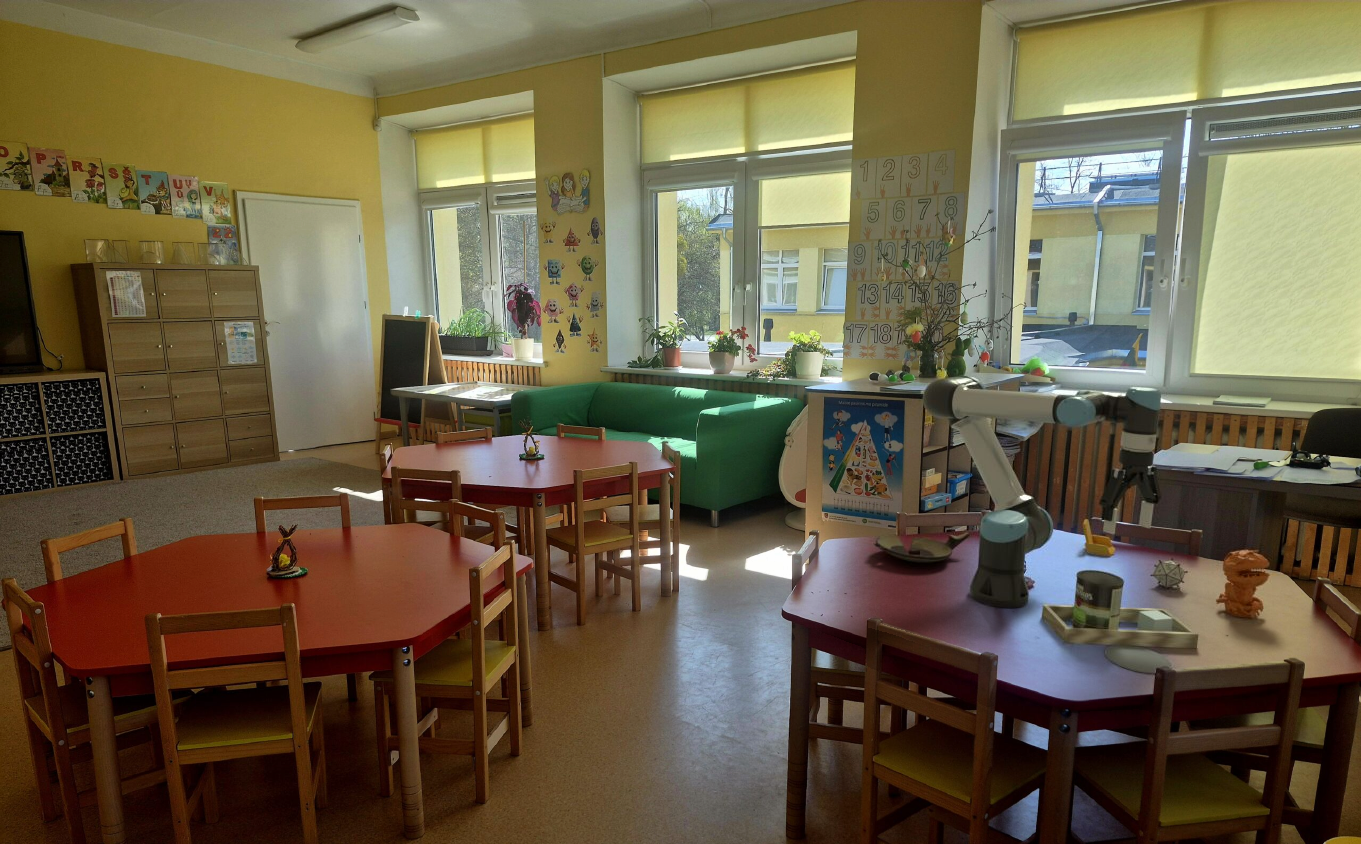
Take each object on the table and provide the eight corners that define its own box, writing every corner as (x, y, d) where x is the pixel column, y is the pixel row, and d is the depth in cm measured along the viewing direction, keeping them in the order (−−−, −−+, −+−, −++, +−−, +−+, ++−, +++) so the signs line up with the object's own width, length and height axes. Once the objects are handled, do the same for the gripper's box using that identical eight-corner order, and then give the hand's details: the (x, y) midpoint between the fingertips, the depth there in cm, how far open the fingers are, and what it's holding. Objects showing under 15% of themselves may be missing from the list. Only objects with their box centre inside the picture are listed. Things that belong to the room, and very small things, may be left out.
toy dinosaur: (1251, 625, 196) (1260, 557, 193) (1205, 609, 206) (1213, 544, 203) (1274, 617, 201) (1284, 550, 198) (1229, 602, 211) (1237, 538, 208)
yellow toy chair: (1112, 557, 247) (1115, 529, 245) (1079, 552, 252) (1082, 524, 250) (1115, 548, 255) (1118, 521, 254) (1083, 543, 261) (1085, 517, 259)
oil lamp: (870, 545, 257) (871, 523, 256) (965, 551, 252) (966, 528, 251) (875, 568, 236) (876, 544, 234) (979, 575, 231) (981, 550, 229)
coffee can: (1087, 641, 187) (1092, 585, 184) (1063, 623, 197) (1067, 570, 194) (1127, 639, 188) (1133, 584, 185) (1101, 622, 198) (1106, 569, 195)
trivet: (1121, 672, 171) (1121, 670, 171) (1095, 645, 184) (1095, 643, 184) (1182, 674, 170) (1183, 672, 170) (1152, 648, 183) (1152, 646, 183)
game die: (1174, 601, 221) (1197, 582, 214) (1144, 588, 222) (1166, 569, 215) (1171, 577, 227) (1193, 558, 220) (1142, 565, 228) (1163, 546, 221)
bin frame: (1065, 642, 186) (1066, 629, 185) (1041, 617, 200) (1042, 604, 200) (1196, 648, 183) (1198, 634, 183) (1163, 621, 198) (1164, 608, 197)
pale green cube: (1152, 639, 188) (1154, 619, 187) (1137, 630, 193) (1139, 611, 192) (1170, 637, 189) (1172, 618, 188) (1154, 629, 194) (1157, 610, 193)
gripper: (1117, 455, 187) (1106, 539, 191) (1184, 448, 197) (1173, 528, 201) (1089, 449, 194) (1080, 530, 198) (1155, 442, 204) (1145, 520, 208)
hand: (1126, 529), depth 200 cm, fingers open, 13 cm apart
